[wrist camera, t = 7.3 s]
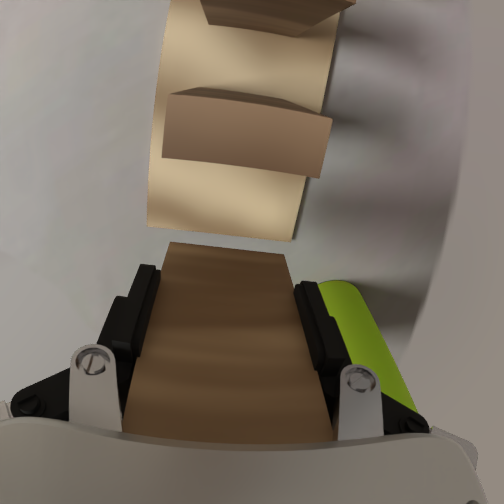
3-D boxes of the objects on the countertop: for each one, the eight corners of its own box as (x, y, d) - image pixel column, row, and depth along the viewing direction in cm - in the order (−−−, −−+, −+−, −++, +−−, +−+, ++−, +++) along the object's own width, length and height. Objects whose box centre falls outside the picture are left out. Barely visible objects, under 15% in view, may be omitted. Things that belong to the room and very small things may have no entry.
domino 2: (198, 87, 17) (167, 94, 8) (281, 98, 18) (333, 119, 9) (193, 119, 18) (161, 157, 9) (275, 129, 19) (319, 178, 10)
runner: (215, -143, 8) (215, -146, 7) (357, -117, 9) (359, -119, 9) (148, 223, 22) (146, 226, 21) (289, 239, 23) (290, 242, 23)
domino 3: (170, 241, 14) (113, 470, 5) (283, 254, 14) (344, 476, 6) (168, 279, 15) (127, 495, 6) (274, 290, 15) (316, 500, 7)
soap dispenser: (295, 345, 29) (341, 563, 11) (294, 285, 25) (364, 556, 8) (356, 335, 29) (428, 535, 12) (364, 275, 25) (478, 510, 8)
